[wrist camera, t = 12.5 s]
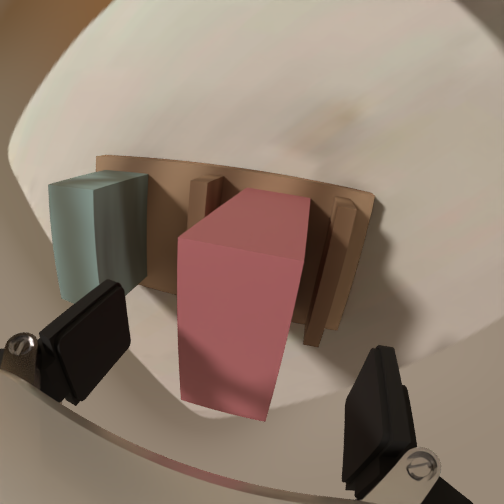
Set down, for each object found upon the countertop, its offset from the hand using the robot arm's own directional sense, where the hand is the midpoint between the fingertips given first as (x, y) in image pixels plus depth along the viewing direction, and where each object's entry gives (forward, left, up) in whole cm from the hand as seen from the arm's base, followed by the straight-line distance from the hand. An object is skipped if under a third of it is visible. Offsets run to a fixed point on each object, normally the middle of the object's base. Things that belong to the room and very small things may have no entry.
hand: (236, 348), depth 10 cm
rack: (+4, 0, -11) cm, 12 cm away
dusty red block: (0, 0, -10) cm, 10 cm away
